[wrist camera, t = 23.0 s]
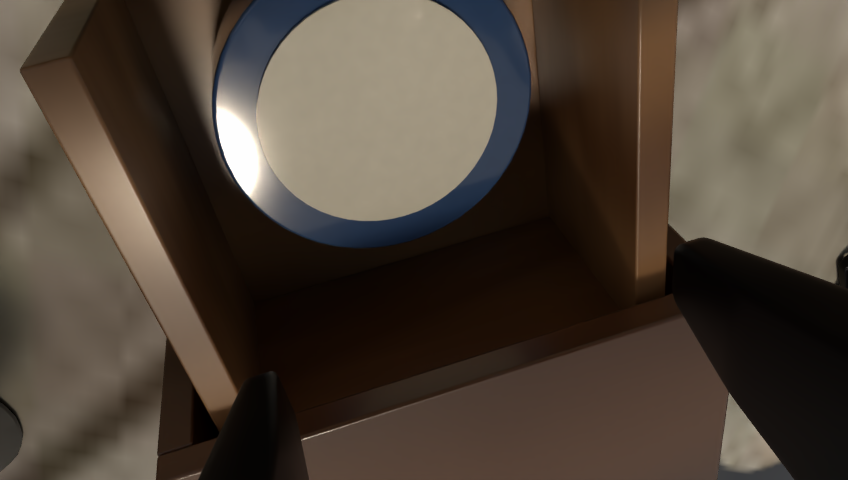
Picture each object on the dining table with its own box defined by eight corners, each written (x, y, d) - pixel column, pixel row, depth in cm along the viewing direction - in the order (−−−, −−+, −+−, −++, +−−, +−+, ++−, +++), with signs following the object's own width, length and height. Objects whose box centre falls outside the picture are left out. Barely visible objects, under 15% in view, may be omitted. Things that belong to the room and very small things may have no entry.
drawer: (-170, -483, 11) (-529, -722, 6) (540, -604, 13) (794, -892, 7) (214, 313, 22) (214, 494, 16) (579, 204, 23) (693, 339, 18)
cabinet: (172, 254, 21) (153, 485, 14) (582, 136, 23) (743, 295, 16) (299, 509, 30) (325, 733, 23) (593, 412, 31) (702, 595, 24)
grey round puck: (531, 116, 19) (572, 161, 17) (309, 238, 20) (322, 297, 18) (425, -144, 15) (462, -130, 13) (146, 19, 16) (135, 60, 13)
